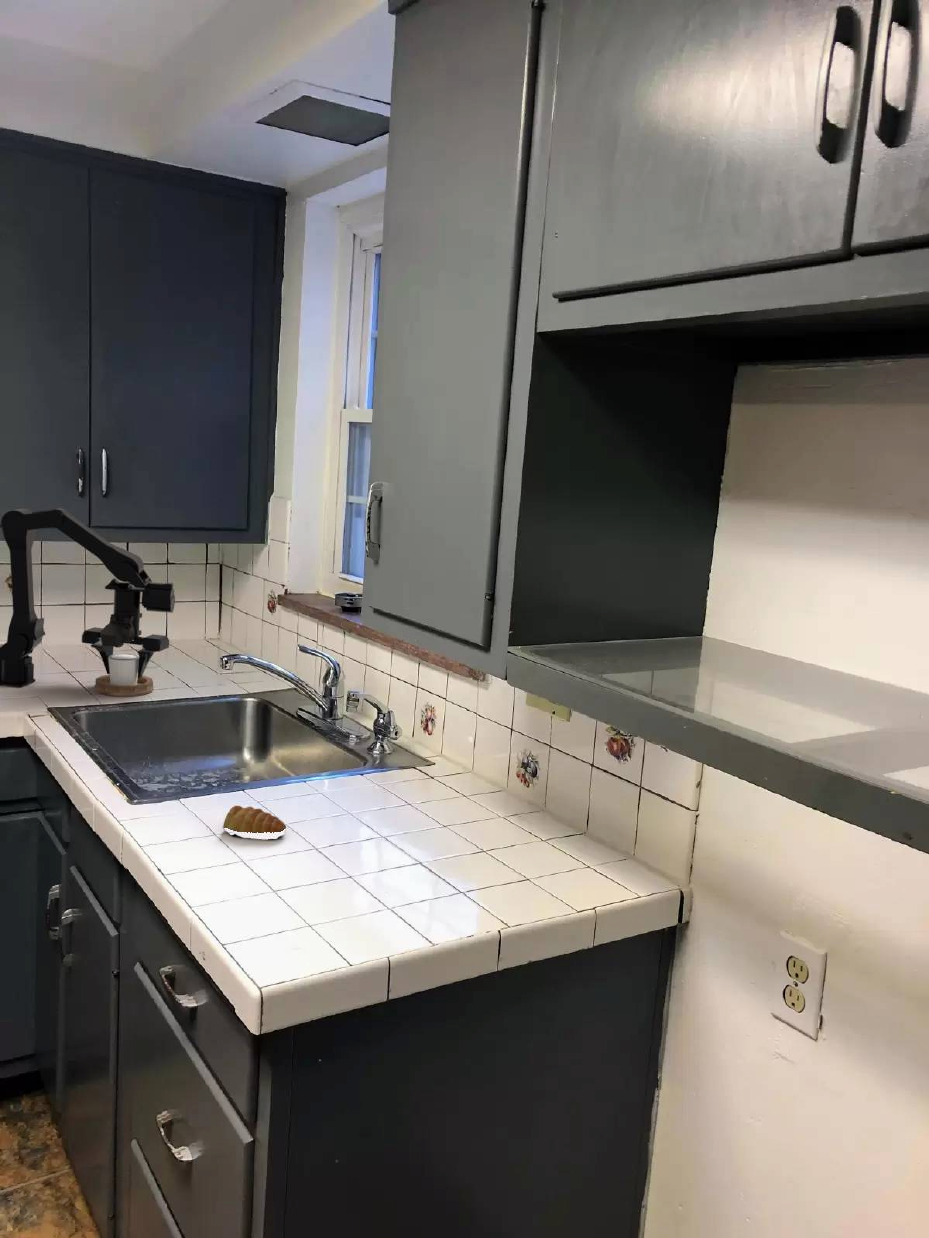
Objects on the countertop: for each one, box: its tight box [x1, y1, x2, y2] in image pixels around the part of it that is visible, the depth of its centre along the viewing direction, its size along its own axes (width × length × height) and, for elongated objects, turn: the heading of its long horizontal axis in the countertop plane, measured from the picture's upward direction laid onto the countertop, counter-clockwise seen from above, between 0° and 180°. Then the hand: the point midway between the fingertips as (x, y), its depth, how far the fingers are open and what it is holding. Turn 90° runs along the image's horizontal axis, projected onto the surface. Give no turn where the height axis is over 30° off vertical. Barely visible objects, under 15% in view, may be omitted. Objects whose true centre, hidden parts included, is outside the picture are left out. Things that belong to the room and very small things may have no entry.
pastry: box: [222, 805, 287, 833], centre depth 153 cm, size 9×7×4 cm
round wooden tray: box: [93, 674, 155, 698], centre depth 227 cm, size 13×13×2 cm
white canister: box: [108, 653, 139, 686], centre depth 226 cm, size 7×7×7 cm
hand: (124, 675), depth 227 cm, fingers open, 7 cm apart
